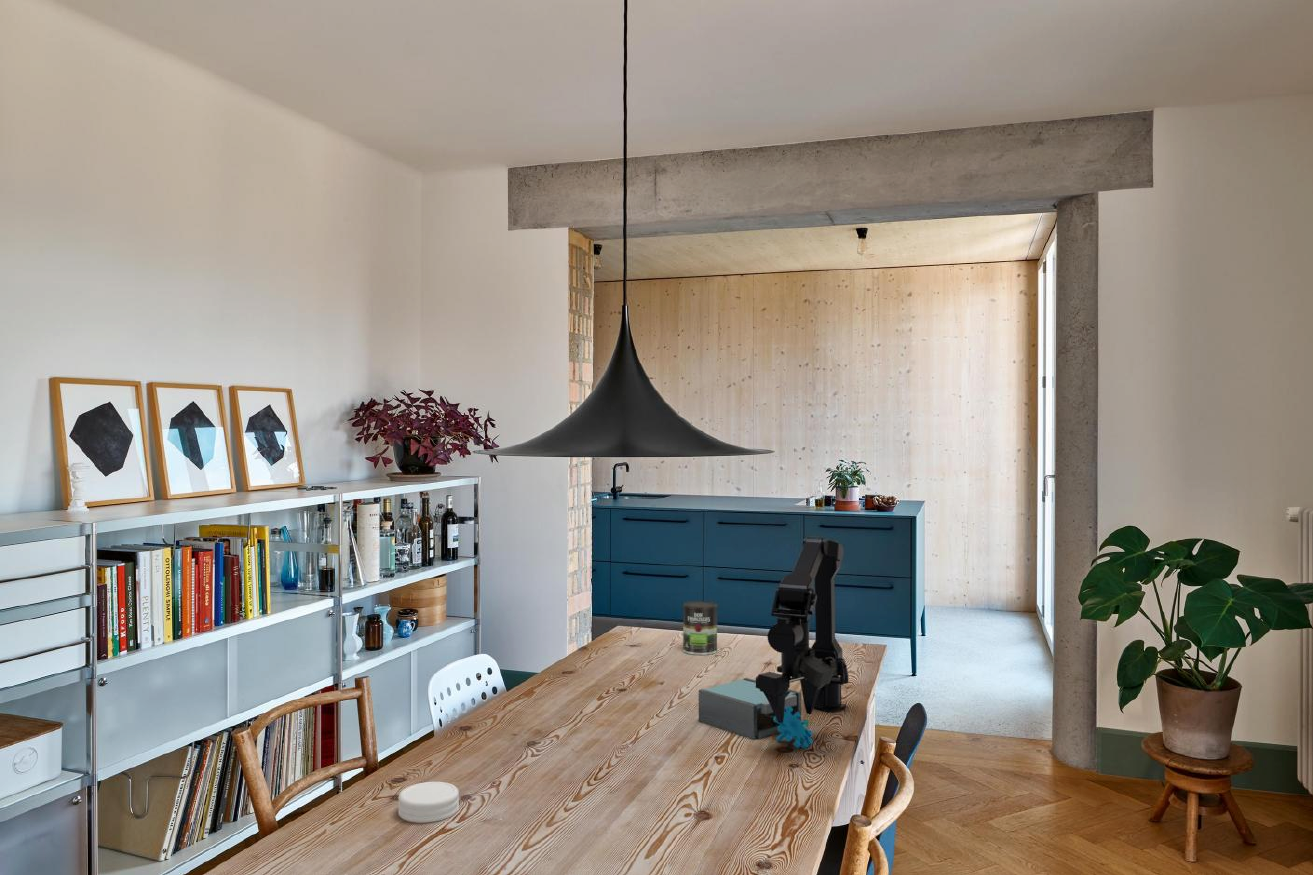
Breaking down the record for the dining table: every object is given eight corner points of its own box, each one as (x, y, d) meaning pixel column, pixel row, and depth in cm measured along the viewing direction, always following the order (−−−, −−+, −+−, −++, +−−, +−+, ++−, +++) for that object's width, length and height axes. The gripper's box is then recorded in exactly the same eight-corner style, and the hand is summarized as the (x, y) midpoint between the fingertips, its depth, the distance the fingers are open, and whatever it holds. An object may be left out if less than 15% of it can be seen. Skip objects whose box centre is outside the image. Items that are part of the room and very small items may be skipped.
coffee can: (715, 656, 265) (715, 607, 265) (680, 654, 267) (680, 606, 267) (719, 648, 275) (719, 601, 275) (685, 646, 277) (685, 600, 277)
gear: (795, 747, 182) (769, 704, 187) (776, 764, 184) (751, 721, 190) (825, 741, 190) (799, 700, 195) (807, 757, 192) (782, 716, 198)
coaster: (402, 828, 148) (402, 806, 148) (394, 805, 157) (394, 785, 157) (464, 818, 152) (464, 797, 152) (452, 796, 161) (452, 777, 161)
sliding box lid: (742, 687, 214) (742, 679, 214) (801, 703, 201) (801, 694, 201) (703, 698, 205) (703, 689, 205) (761, 715, 192) (761, 705, 192)
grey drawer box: (746, 707, 214) (746, 677, 214) (803, 724, 202) (803, 692, 202) (698, 721, 204) (698, 689, 204) (755, 740, 191) (755, 706, 191)
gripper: (796, 656, 177) (796, 736, 177) (854, 642, 189) (854, 718, 189) (753, 646, 185) (753, 723, 185) (811, 634, 198) (811, 706, 197)
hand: (794, 718), depth 189 cm, fingers open, 9 cm apart
